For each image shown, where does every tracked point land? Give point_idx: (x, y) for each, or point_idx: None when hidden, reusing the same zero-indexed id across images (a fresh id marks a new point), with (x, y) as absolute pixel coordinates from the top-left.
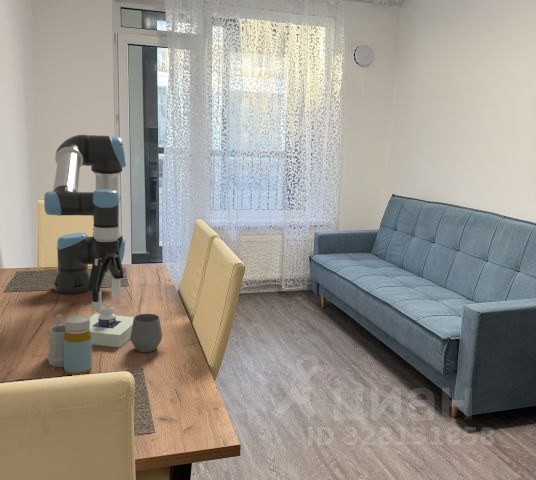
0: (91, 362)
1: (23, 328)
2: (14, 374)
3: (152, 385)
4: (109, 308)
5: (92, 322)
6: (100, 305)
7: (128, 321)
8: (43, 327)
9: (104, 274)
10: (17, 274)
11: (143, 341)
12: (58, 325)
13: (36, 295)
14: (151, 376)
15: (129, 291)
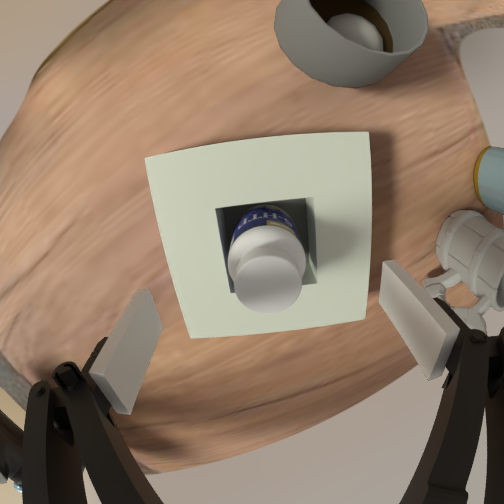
0: (500, 148)
1: (294, 414)
2: None
3: (476, 6)
4: (273, 269)
5: None
6: (410, 276)
7: (207, 179)
8: (275, 395)
9: (442, 459)
10: None
11: (394, 26)
12: (496, 306)
13: (137, 451)
14: (455, 8)
15: (4, 337)
